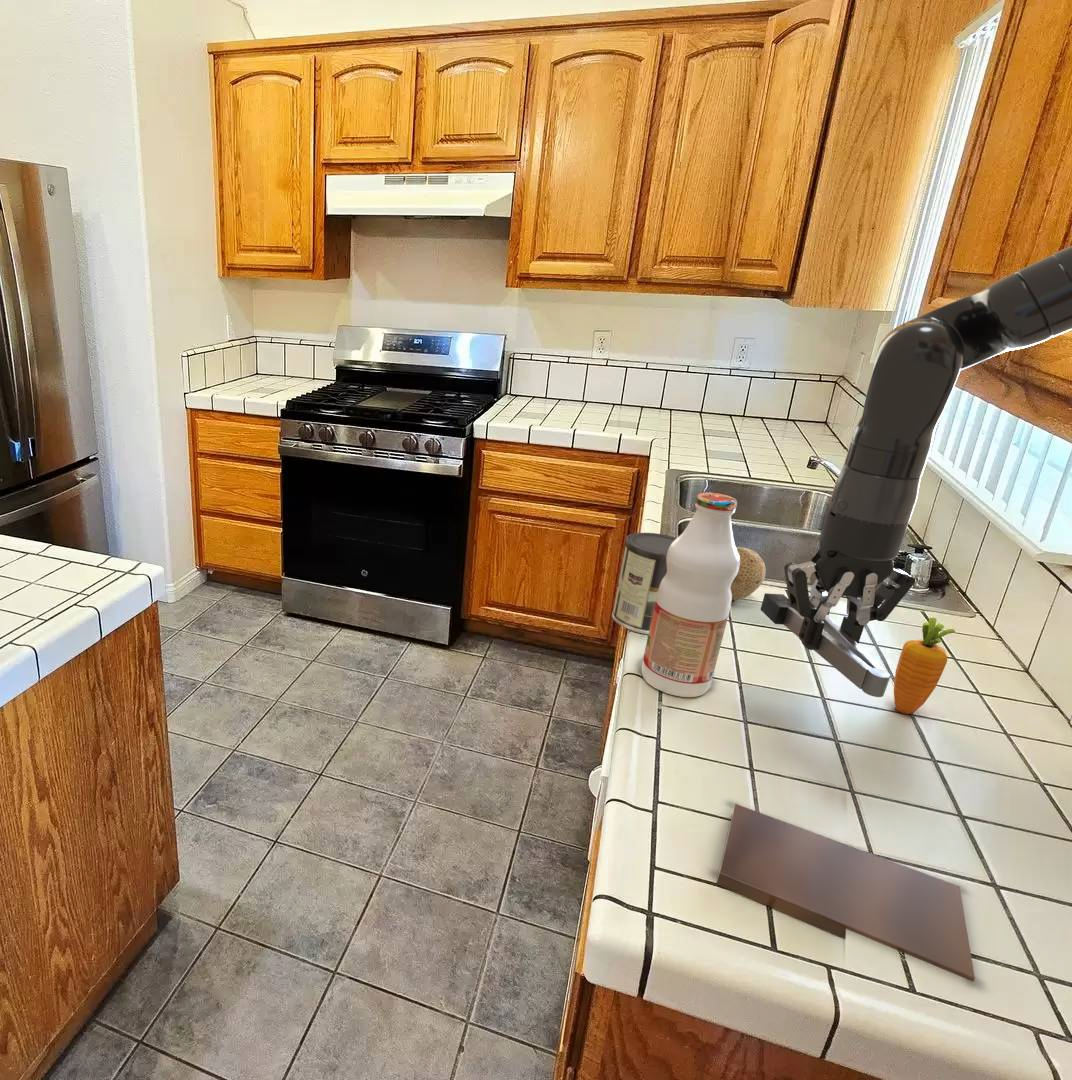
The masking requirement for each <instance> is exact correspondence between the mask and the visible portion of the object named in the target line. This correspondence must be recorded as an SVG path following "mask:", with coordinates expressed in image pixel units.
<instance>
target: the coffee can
mask: <svg viewBox="0 0 1072 1080" xmlns="http://www.w3.org/2000/svg"><path fill="white" fill-rule="evenodd" d="M676 538H677V537H674V536H671V535H667V534H662V533H656V532H636V533H631V534H628V535H627V536H626V537H625V541H624V543H625V547H624V552H623V556H622V563H621V568H620V573H619V578H618V583H617V589H616V594H615V599H614V605H613V608H612V609H613V610H612V613H611V617H612V619H613V621H614V622H615V623H616V624H617V625H619V626H621V627H623V628H624V629H626V630H629V631H632V632H634V633H638V634H643V635H648V634H649V630H650V625H651V620H652V616H653V611H654V606H655V602H656V596H657V592H658V589H659V586H660V583H661V581H662V579H663V578H664V576H665V575H666V573H667V564H666V556H667V552H668V549H669V547H670V545H671V543H672V542H673V541H674V540H675V539H676Z"/></svg>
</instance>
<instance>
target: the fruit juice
mask: <svg viewBox="0 0 1072 1080" xmlns="http://www.w3.org/2000/svg"><path fill="white" fill-rule="evenodd" d="M694 501H695V504H694V506H695V509H696V510H695V512H694V513H693V516H692V518H691V519H690V521H689V522H688V524H687V526H686V527H685V528H684V530H683V532H682V533H680V535H678V536H677V537H675V538H676V539H675V540H674V541H673V542H672V543H671V545H670V547H669V549H668V552H667V556H666V564H667V573H666V575H665V576H664V578H663V579H662V581H661V583H660V586H659V589H658V592H657V596H656V602H655V606H654V611H653V616H652V620H651V625H650V630H649V634H647V639H646V644H645V647H644V654H643V658H642V663H641V676H642V678H643V680H644V681H645V682H646V683H648V685H649V686H651V687H653V689H656V690H658V691H660V692H662V693H665V694H668V695H671V696H676V697H682V698H696V697H700V696H703V695H705V694H706V693H707V692H708V690H709V689H710V687H711V684H712V681H713V677H714V674H715V670H716V666H717V662H718V657H719V654H720V651H721V646H722V642H723V638H724V635H725V631H726V628H727V627H726V626H727V622H728V619H729V616H730V611H731V607H732V601H733V600H732V593H731V589H730V588H731V583H732V582H733V580H734V579H735V577H736V575H737V573H738V571H739V566H740V556H739V553H738V551H737V549H736V547H737V546H736V543H735V538H734V532H733V531H734V530H733V523H732V515H733V514H735V513H736V510H737V508H738V507H737V506H738V501H737V498H734V497H732V496H730V495H727V494H723V493H718V492H709V491H708V492H707V491H705V492H699V493H698V494H697V496H696V498H695V500H694Z"/></svg>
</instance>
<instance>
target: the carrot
mask: <svg viewBox="0 0 1072 1080" xmlns="http://www.w3.org/2000/svg"><path fill="white" fill-rule="evenodd" d="M921 628H922V629H921V632H922V639H911V640H907V641H906V642H905V643H904V644H903V646H902V649H901V652H900V654H899V658H898V662H897V664H896V669H895V675H894V681H893V682H894V683H893V684H894V685H893V700H894V706H895V710H896V711H897V712H899V713H901V714H905V715H912V714H913V713H915V712H916V711H917V710H919V709H920V708H921V707H922V706H923V705H924V704H925V703H926V702H927V700H928V699H929V698H930V696H931V694H932V693H933V692H934V691H935V689H936V687H937V686H938V683H939V681H940V679H941V677H942V675H943V672H944V670H945V668H946V665H947V663H948V655H947V651H946V650H945V648H944V647H942V646H941V645H938V644H940V643H941V642H942V641H943V640H942V639H941V638H943V637H944V636H946V635H950V634H954V633H956V630H955V629H954V628H947V629H944V628H945V625H944V624H942V623H940V622H938V623H937V618H936V617H929V618H928V622H922V626H921ZM943 629H944V630H943Z"/></svg>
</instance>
